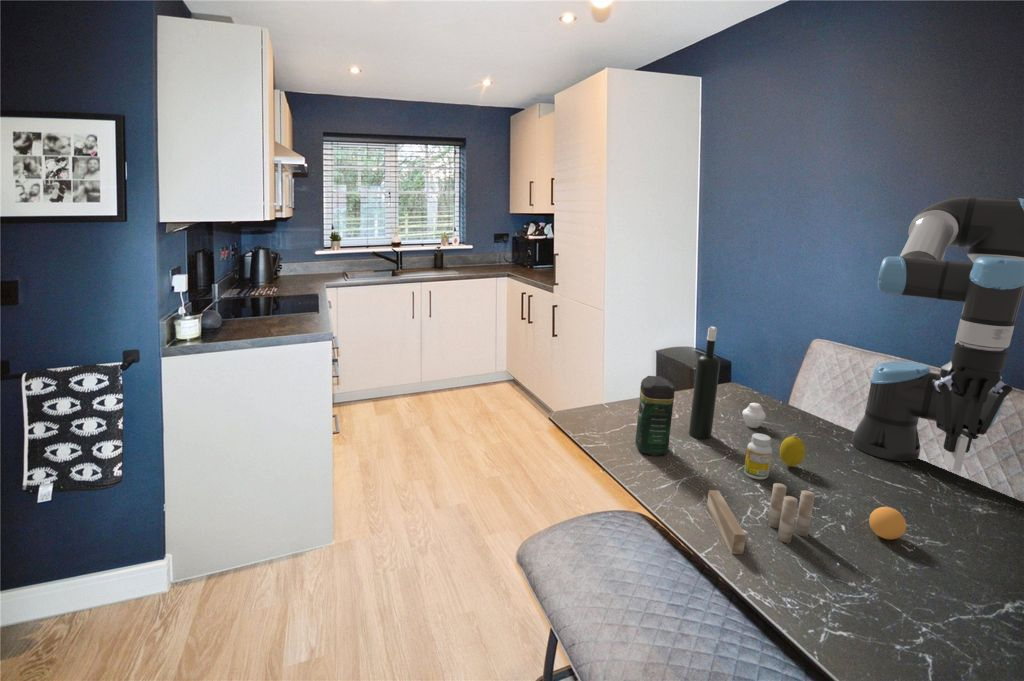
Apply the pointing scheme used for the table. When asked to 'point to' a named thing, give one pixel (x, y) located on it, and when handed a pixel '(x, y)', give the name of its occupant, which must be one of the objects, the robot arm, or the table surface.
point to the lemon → (792, 451)
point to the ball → (887, 523)
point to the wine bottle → (705, 390)
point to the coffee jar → (654, 415)
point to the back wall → (726, 522)
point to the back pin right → (776, 505)
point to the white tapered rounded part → (753, 415)
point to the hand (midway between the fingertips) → (951, 467)
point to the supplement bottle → (758, 457)
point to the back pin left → (787, 519)
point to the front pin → (804, 513)
